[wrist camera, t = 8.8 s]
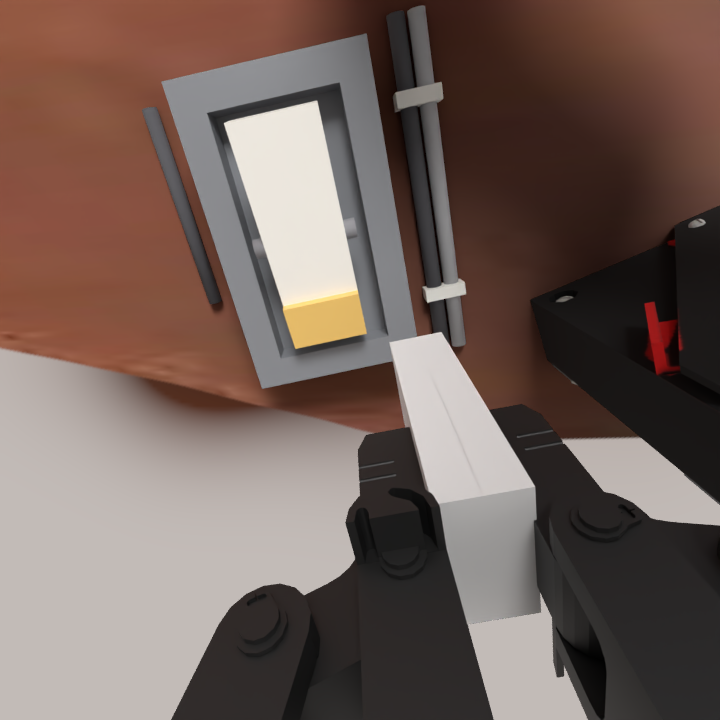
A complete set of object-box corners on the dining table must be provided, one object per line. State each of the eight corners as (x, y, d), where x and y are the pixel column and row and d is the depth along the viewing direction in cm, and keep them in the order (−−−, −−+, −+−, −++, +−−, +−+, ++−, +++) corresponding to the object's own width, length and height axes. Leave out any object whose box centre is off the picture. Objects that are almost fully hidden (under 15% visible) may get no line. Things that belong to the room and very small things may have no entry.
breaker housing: (190, 101, 30) (157, 82, 25) (361, 61, 30) (366, 33, 24) (270, 359, 38) (258, 389, 32) (407, 330, 37) (420, 355, 32)
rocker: (216, 123, 24) (208, 127, 22) (329, 97, 24) (331, 99, 22) (287, 337, 32) (286, 353, 30) (373, 319, 31) (377, 334, 30)
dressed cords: (381, 20, 29) (383, 12, 28) (427, 9, 29) (432, 1, 28) (431, 346, 38) (435, 353, 37) (467, 339, 38) (472, 345, 37)
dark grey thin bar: (145, 112, 30) (139, 109, 30) (159, 108, 30) (153, 106, 29) (211, 301, 36) (208, 304, 35) (223, 299, 36) (220, 302, 35)
